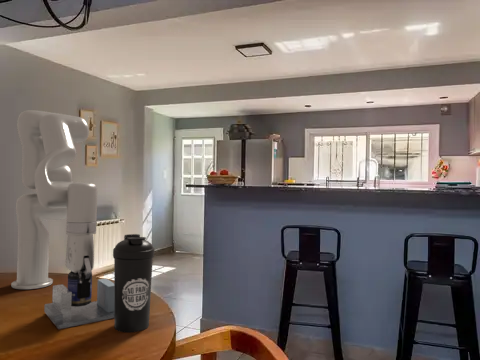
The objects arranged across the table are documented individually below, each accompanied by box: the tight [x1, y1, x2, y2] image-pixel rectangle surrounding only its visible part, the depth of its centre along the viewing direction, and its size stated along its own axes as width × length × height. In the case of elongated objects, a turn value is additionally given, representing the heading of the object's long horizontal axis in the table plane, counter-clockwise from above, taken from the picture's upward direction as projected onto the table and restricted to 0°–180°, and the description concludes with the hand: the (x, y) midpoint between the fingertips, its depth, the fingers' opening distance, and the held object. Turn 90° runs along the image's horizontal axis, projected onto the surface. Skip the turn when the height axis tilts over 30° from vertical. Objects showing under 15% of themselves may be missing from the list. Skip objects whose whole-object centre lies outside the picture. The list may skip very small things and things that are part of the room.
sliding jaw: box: [96, 278, 114, 312], centre depth 109 cm, size 9×2×7 cm, turn 38°
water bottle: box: [112, 233, 155, 333], centre depth 98 cm, size 10×10×23 cm
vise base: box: [44, 283, 114, 330], centre depth 105 cm, size 14×19×8 cm
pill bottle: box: [67, 269, 93, 307], centre depth 104 cm, size 6×6×11 cm
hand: (79, 293), depth 104 cm, fingers closed on pill bottle, 6 cm apart
